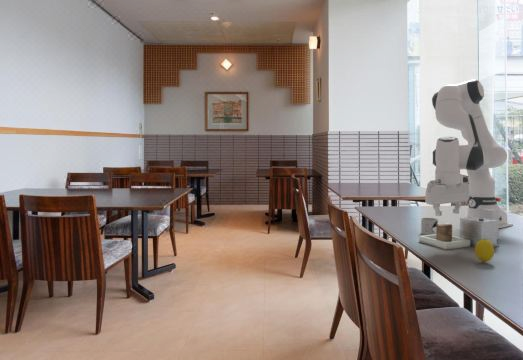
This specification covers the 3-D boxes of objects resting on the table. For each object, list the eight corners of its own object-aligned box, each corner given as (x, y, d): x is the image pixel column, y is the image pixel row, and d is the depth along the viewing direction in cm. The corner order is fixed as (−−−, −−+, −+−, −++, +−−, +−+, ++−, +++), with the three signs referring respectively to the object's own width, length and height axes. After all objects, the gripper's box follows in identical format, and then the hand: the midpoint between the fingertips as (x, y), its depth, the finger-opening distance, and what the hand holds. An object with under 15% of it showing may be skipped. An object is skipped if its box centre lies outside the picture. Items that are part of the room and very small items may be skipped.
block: (443, 240, 168) (443, 222, 167) (451, 242, 164) (452, 224, 163) (436, 241, 166) (436, 223, 165) (444, 243, 162) (444, 225, 162)
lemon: (470, 260, 140) (471, 237, 139) (486, 260, 140) (487, 236, 140) (480, 265, 134) (481, 240, 134) (497, 264, 135) (498, 240, 134)
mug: (435, 236, 180) (436, 220, 180) (419, 234, 184) (419, 219, 184) (440, 232, 189) (440, 217, 188) (424, 230, 192) (424, 216, 192)
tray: (442, 239, 174) (442, 233, 173) (470, 246, 161) (470, 240, 160) (419, 241, 169) (419, 235, 169) (445, 249, 156) (446, 242, 156)
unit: (474, 240, 170) (475, 214, 169) (499, 246, 160) (500, 218, 159) (457, 242, 167) (457, 215, 166) (481, 248, 156) (482, 220, 156)
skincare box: (499, 239, 173) (500, 210, 172) (491, 240, 171) (492, 210, 170) (485, 236, 179) (486, 208, 178) (478, 237, 177) (479, 208, 176)
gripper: (434, 181, 155) (434, 218, 156) (472, 178, 164) (472, 213, 165) (421, 180, 161) (421, 215, 162) (458, 177, 170) (458, 211, 171)
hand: (447, 214), depth 164 cm, fingers open, 8 cm apart
